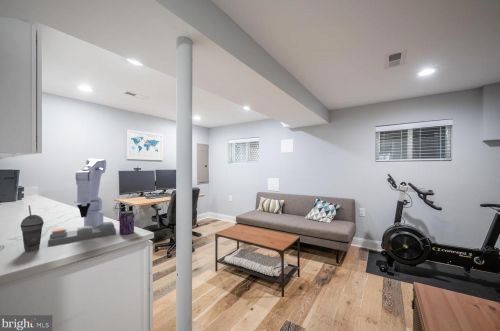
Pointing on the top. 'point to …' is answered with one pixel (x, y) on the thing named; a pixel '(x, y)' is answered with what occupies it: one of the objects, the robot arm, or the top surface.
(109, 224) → the slate button
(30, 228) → the beverage cup
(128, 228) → the beverage can
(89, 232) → the button panel
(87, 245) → the top surface
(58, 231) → the terracotta button
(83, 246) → the top surface
